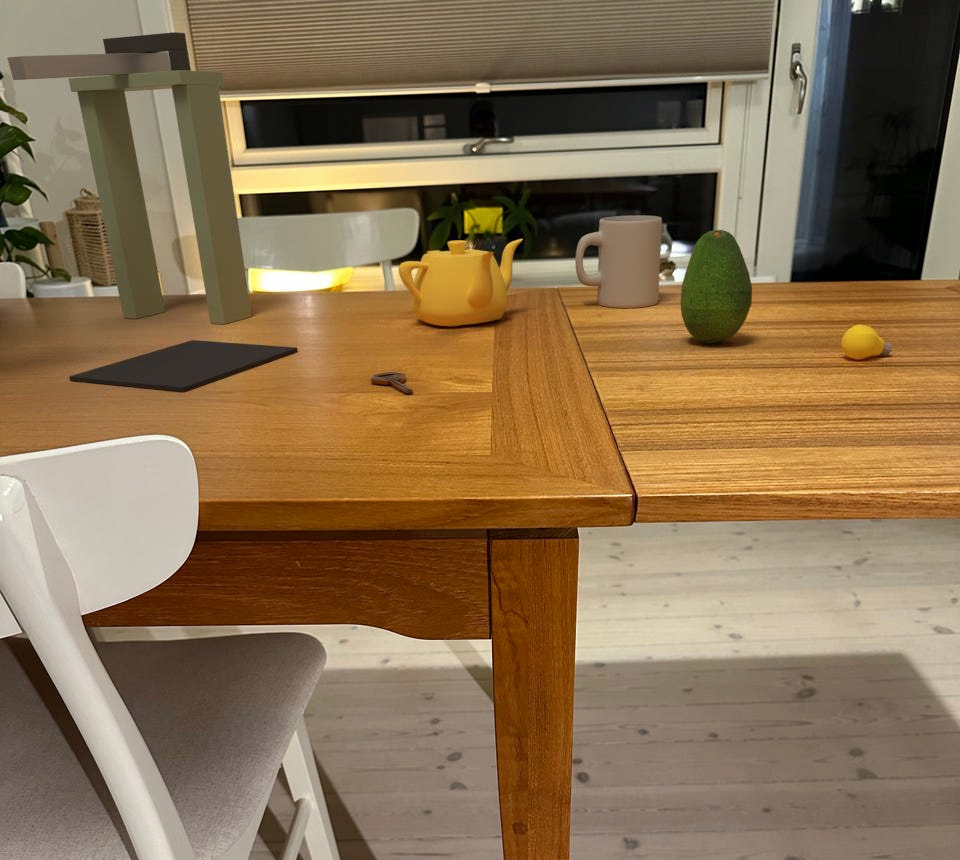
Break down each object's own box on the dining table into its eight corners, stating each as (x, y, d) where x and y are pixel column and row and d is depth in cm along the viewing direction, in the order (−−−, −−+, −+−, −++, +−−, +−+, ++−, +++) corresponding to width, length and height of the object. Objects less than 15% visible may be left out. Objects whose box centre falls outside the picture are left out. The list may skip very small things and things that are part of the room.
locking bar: (12, 80, 108) (6, 57, 107) (159, 72, 126) (155, 53, 125) (26, 79, 107) (20, 56, 106) (172, 71, 125) (168, 52, 124)
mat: (69, 380, 104) (68, 376, 104) (193, 344, 120) (192, 339, 119) (183, 392, 98) (182, 387, 97) (297, 351, 113) (297, 347, 113)
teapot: (494, 332, 119) (492, 247, 115) (395, 329, 123) (389, 246, 119) (524, 312, 131) (523, 234, 126) (432, 310, 135) (428, 234, 130)
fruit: (662, 342, 111) (668, 230, 105) (712, 333, 114) (721, 224, 108) (711, 353, 105) (721, 235, 99) (762, 343, 108) (774, 228, 102)
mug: (644, 296, 139) (648, 214, 134) (668, 305, 132) (672, 219, 126) (565, 302, 137) (566, 219, 131) (585, 312, 129) (587, 224, 124)
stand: (118, 319, 137) (60, 39, 121) (157, 309, 144) (106, 42, 127) (220, 325, 130) (172, 28, 114) (256, 315, 136) (216, 32, 120)
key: (393, 395, 93) (393, 391, 92) (365, 379, 99) (365, 375, 99) (429, 390, 94) (429, 386, 94) (399, 374, 100) (398, 370, 100)
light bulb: (831, 358, 100) (837, 323, 100) (875, 369, 102) (881, 335, 102) (855, 354, 97) (861, 318, 97) (899, 365, 99) (905, 330, 99)
